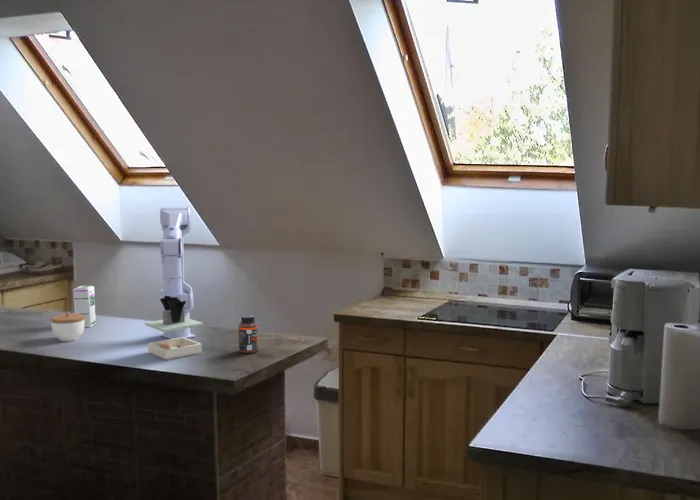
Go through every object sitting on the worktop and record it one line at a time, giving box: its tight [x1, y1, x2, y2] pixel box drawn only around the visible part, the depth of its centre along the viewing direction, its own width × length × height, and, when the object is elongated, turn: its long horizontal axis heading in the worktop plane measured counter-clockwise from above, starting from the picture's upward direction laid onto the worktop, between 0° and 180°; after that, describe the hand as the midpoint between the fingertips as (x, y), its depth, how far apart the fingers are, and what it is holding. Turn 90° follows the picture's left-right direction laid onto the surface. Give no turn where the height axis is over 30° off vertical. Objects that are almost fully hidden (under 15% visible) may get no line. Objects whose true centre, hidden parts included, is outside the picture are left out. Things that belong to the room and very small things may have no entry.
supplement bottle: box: [238, 314, 259, 354], centre depth 225 cm, size 6×6×11 cm
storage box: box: [147, 337, 203, 361], centre depth 224 cm, size 12×12×3 cm
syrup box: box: [72, 285, 98, 329], centre depth 262 cm, size 6×6×14 cm
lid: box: [144, 309, 204, 333], centre depth 223 cm, size 13×13×5 cm
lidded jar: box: [50, 311, 85, 342], centre depth 243 cm, size 11×11×9 cm
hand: (173, 320), depth 223 cm, fingers closed on lid, 2 cm apart
